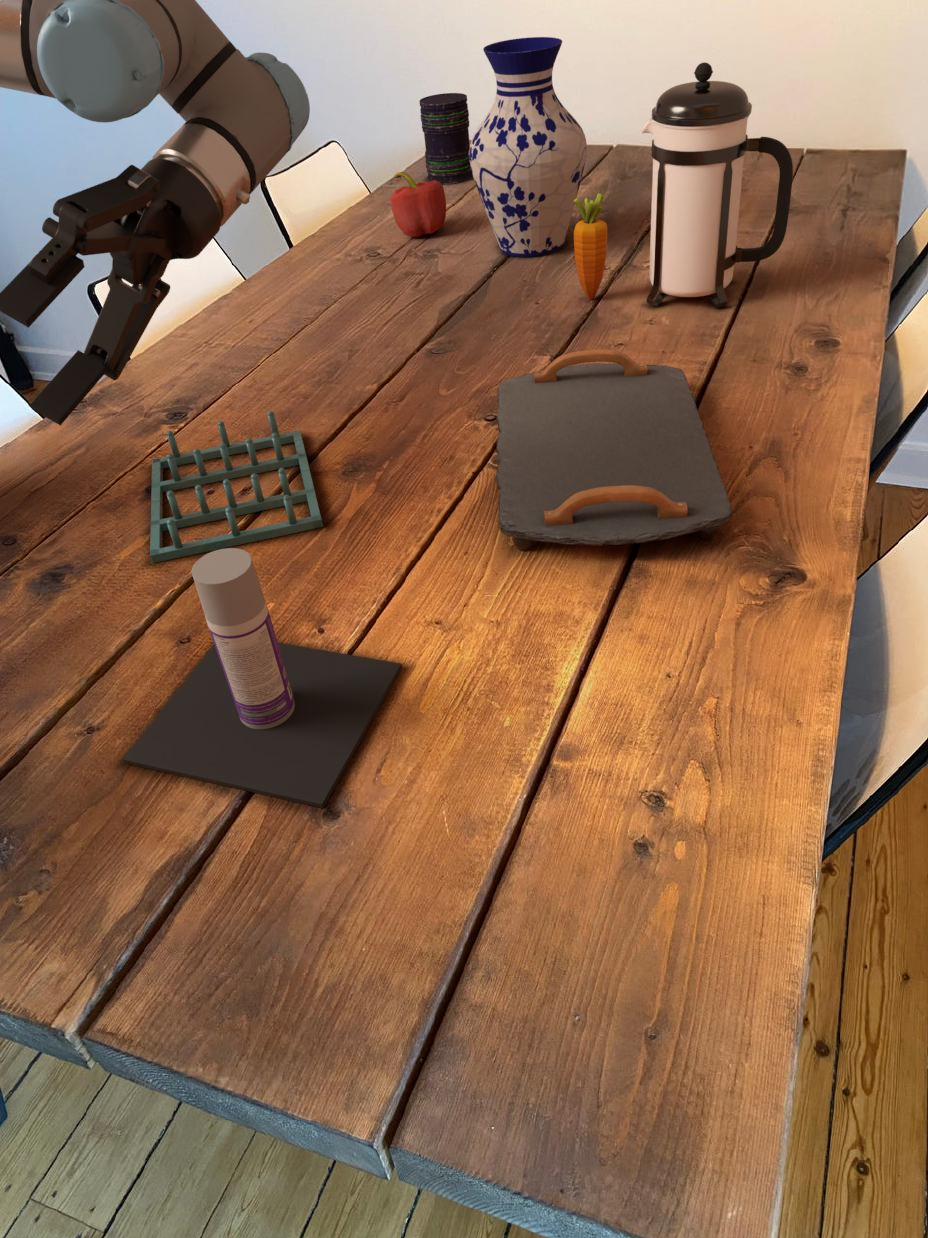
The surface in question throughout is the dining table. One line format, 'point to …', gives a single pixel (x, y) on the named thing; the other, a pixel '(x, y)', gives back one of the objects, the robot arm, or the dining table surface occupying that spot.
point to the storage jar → (446, 137)
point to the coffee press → (704, 188)
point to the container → (244, 637)
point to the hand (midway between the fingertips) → (29, 369)
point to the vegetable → (419, 206)
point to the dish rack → (229, 493)
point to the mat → (279, 756)
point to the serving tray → (604, 455)
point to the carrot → (590, 245)
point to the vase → (527, 150)
